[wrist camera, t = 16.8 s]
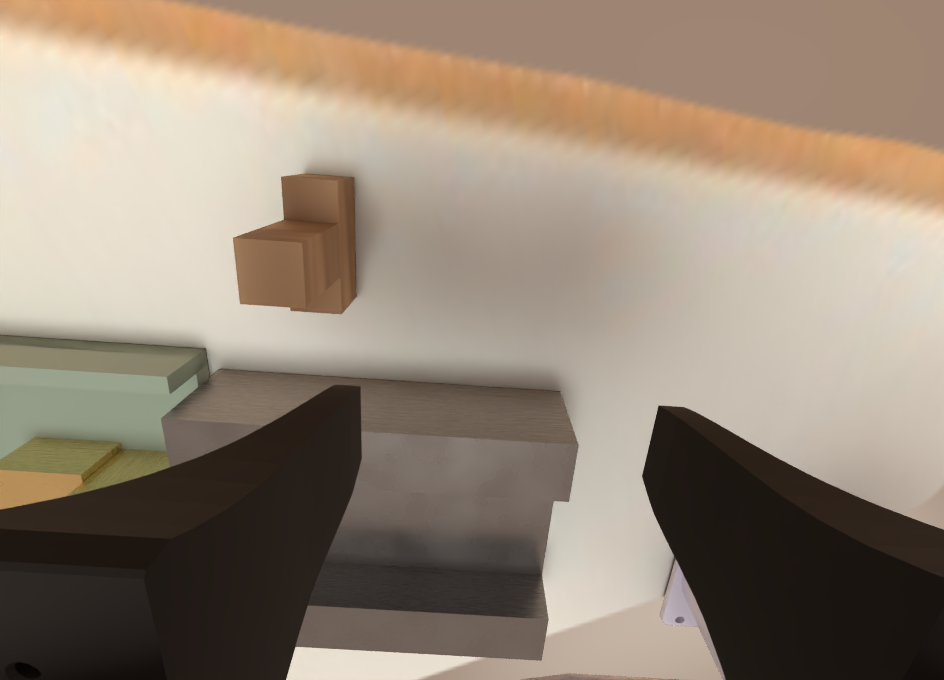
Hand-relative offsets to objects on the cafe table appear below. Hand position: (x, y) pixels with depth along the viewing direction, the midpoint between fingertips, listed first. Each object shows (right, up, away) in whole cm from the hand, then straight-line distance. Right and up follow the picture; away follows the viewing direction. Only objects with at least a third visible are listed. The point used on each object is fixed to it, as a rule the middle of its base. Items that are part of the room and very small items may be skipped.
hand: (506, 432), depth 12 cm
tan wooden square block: (-20, -4, +12) cm, 23 cm away
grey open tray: (-5, -5, +13) cm, 15 cm away
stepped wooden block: (-7, +7, +9) cm, 13 cm away
